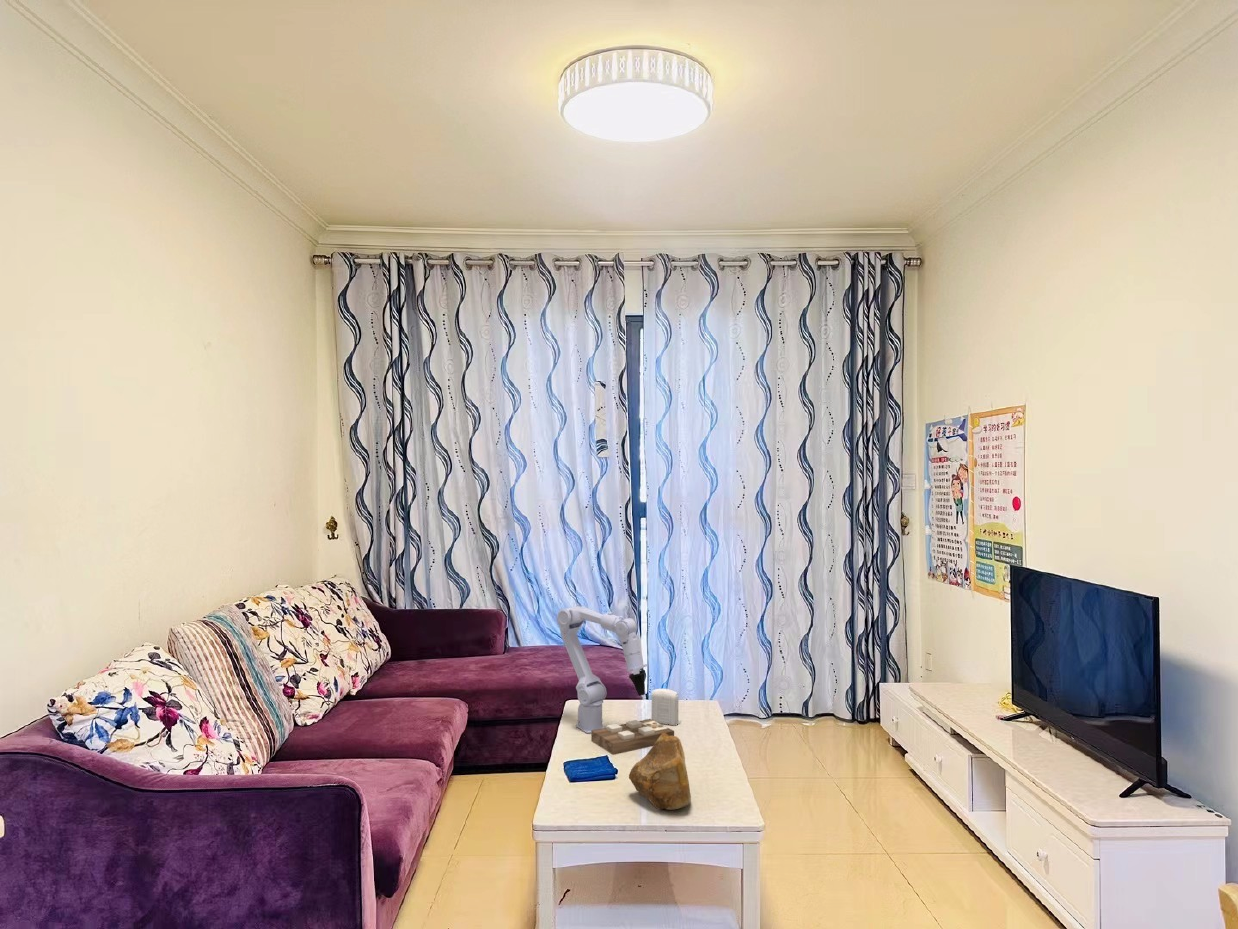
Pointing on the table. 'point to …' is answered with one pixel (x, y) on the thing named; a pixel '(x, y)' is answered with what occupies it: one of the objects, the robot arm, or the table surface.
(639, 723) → the button
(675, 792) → the rough brown rock
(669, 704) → the photo printer
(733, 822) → the table surface
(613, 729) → the button
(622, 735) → the button
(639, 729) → the button
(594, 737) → the button board
